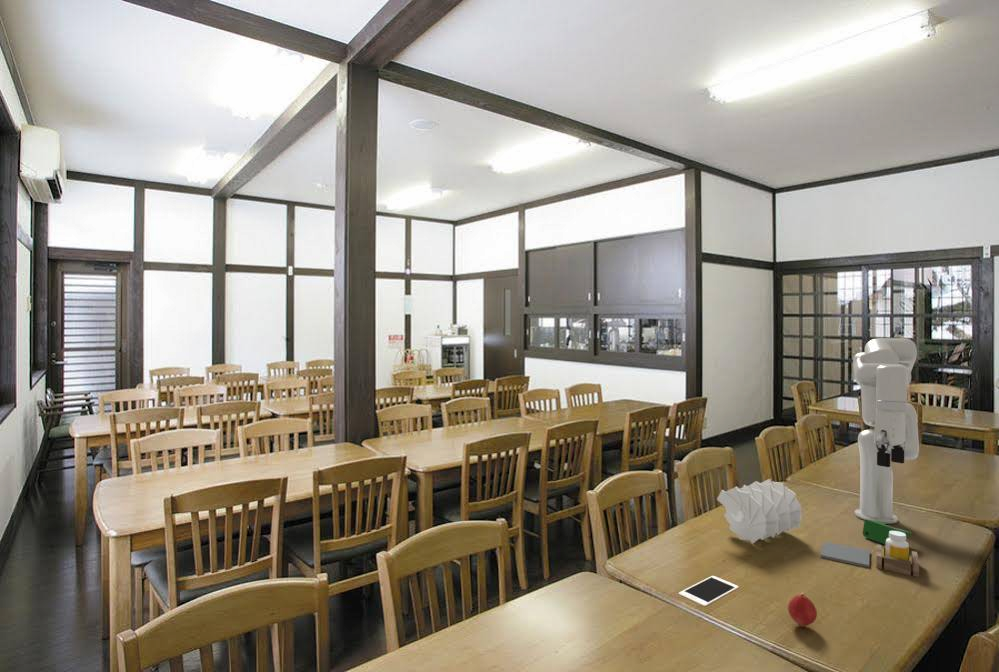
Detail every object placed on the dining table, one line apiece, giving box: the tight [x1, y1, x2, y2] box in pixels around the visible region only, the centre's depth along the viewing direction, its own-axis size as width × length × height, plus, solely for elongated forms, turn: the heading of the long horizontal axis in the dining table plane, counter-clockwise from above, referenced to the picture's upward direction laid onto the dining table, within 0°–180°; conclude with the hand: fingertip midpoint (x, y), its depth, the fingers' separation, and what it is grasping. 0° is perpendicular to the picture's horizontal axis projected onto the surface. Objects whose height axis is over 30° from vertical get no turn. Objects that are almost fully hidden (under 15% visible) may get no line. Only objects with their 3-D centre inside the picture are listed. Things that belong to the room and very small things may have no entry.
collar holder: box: [875, 544, 920, 578], centre depth 154 cm, size 10×10×4 cm
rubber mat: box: [820, 540, 871, 569], centre depth 162 cm, size 12×12×1 cm
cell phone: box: [678, 575, 740, 607], centre depth 141 cm, size 8×16×1 cm, turn 126°
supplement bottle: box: [885, 531, 910, 561], centre depth 154 cm, size 5×5×10 cm
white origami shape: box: [716, 478, 803, 544], centre depth 176 cm, size 18×18×25 cm
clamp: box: [862, 519, 912, 546], centre depth 171 cm, size 12×6×9 cm, turn 19°
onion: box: [787, 592, 818, 628], centre depth 125 cm, size 6×6×8 cm
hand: (890, 464), depth 159 cm, fingers open, 9 cm apart
